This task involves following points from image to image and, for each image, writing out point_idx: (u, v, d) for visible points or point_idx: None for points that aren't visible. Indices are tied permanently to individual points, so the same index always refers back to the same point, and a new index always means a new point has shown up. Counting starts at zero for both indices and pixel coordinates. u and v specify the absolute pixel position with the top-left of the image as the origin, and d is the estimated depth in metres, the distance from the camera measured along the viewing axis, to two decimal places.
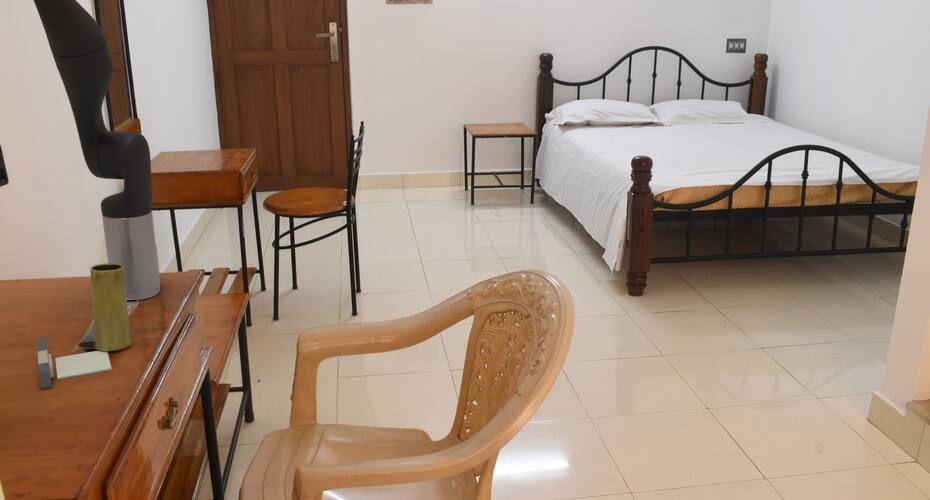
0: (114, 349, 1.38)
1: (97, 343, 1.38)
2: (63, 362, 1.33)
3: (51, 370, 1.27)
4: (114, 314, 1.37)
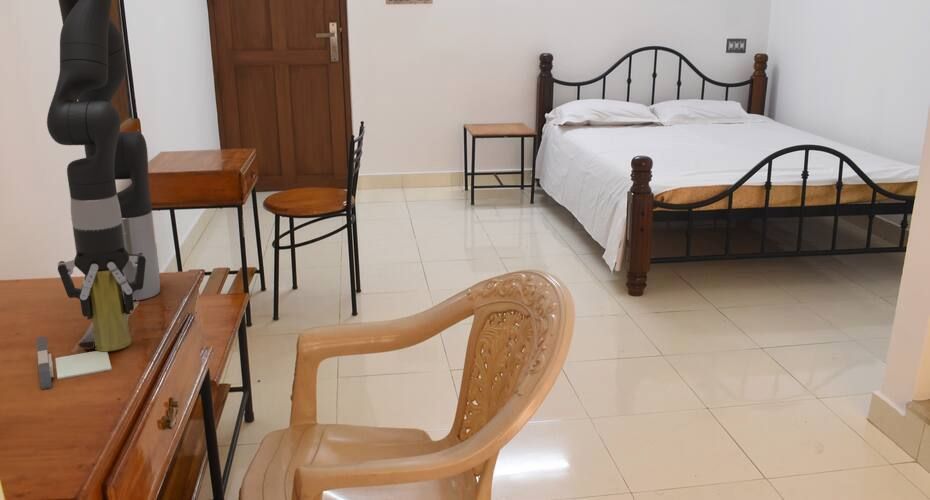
0: (114, 349, 1.38)
1: (97, 344, 1.38)
2: (63, 362, 1.33)
3: (51, 370, 1.27)
4: (112, 314, 1.36)
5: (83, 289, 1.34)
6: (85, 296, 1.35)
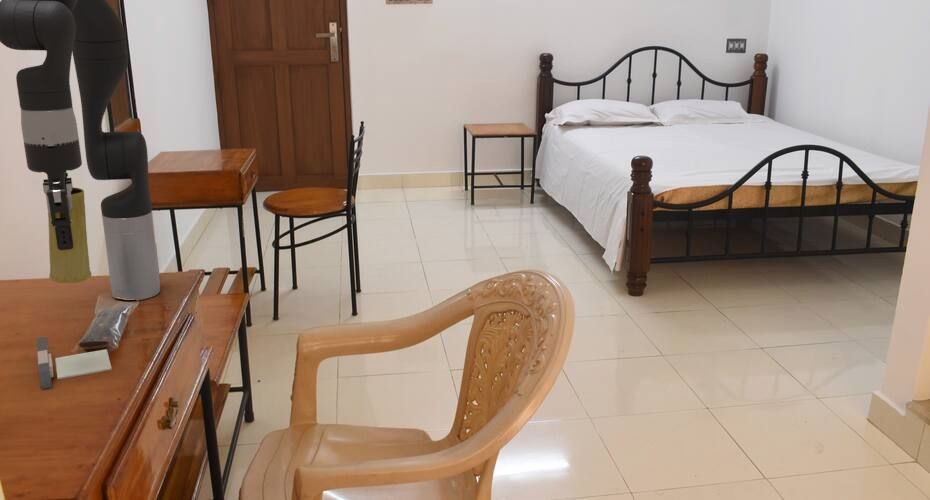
0: (49, 276, 1.27)
1: None
2: (63, 362, 1.33)
3: (51, 370, 1.27)
4: (49, 240, 1.25)
5: None
6: None
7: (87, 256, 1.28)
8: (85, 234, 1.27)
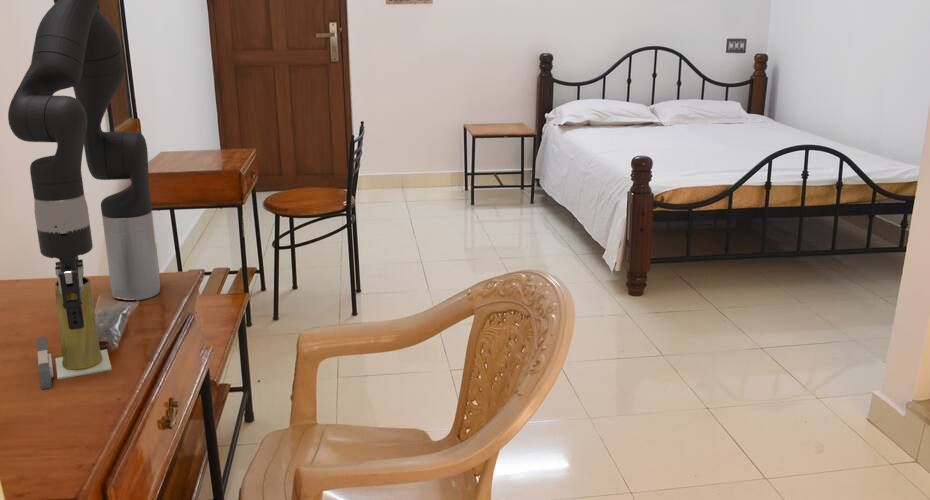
0: (62, 363, 1.32)
1: None
2: None
3: (51, 370, 1.27)
4: (60, 329, 1.30)
5: None
6: None
7: (97, 341, 1.33)
8: (93, 321, 1.31)
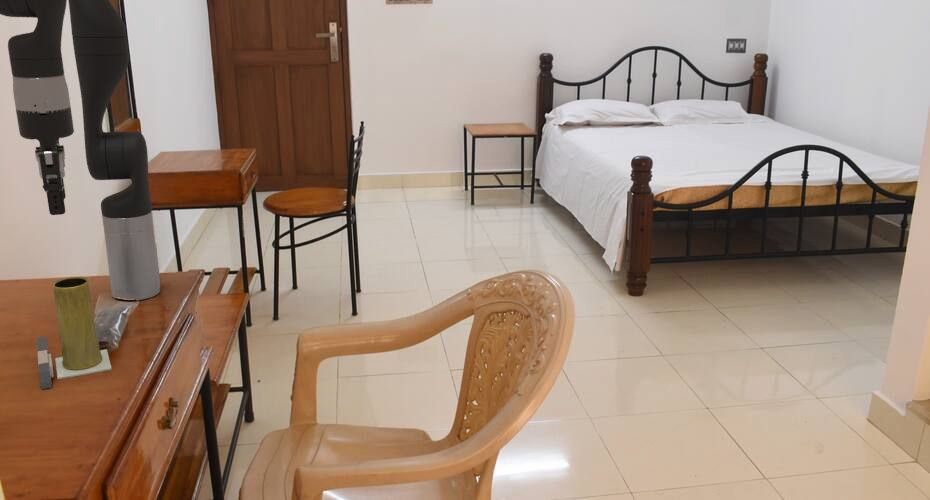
0: (62, 363, 1.32)
1: None
2: None
3: (51, 370, 1.27)
4: (59, 330, 1.30)
5: None
6: None
7: (96, 341, 1.33)
8: (93, 321, 1.31)
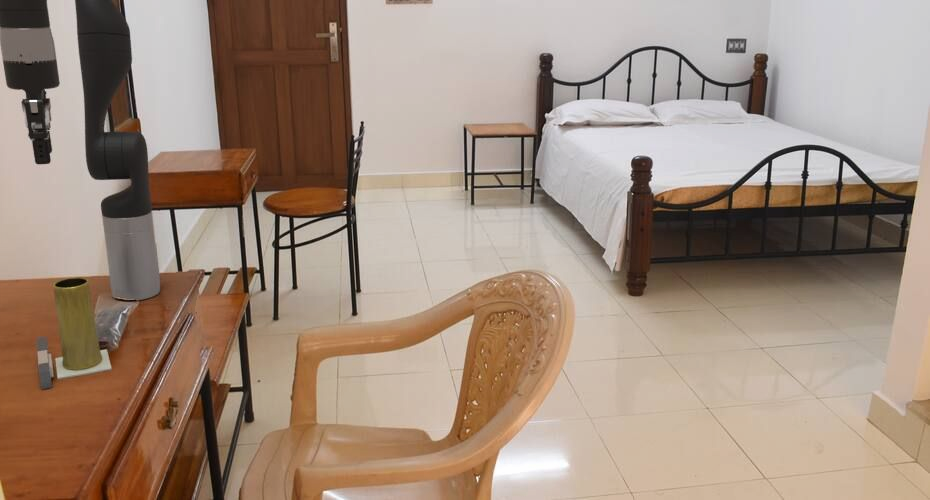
0: (62, 363, 1.32)
1: None
2: None
3: (51, 370, 1.27)
4: (59, 330, 1.30)
5: None
6: None
7: (96, 341, 1.33)
8: (93, 321, 1.31)
